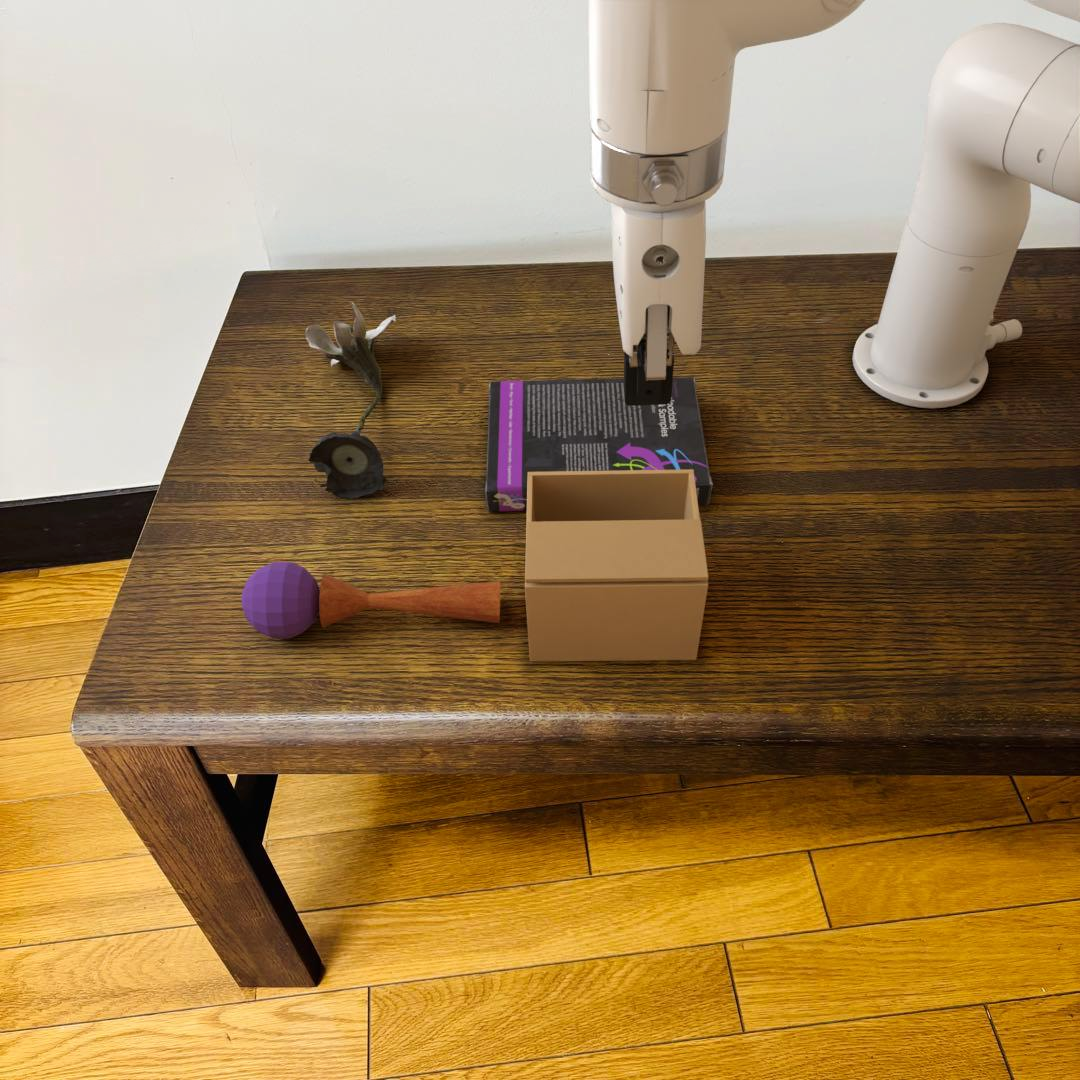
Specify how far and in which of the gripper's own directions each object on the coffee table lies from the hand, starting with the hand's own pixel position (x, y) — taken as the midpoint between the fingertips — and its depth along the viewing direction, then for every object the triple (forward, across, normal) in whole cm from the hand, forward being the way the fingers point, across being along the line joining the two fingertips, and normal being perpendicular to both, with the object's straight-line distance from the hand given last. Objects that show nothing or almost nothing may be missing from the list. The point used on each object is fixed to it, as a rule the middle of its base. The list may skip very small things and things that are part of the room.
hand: (647, 396), depth 70 cm
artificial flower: (+18, +18, +26) cm, 37 cm away
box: (+18, +12, +3) cm, 22 cm away
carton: (+18, -5, +3) cm, 19 cm away
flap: (+8, -7, +3) cm, 11 cm away
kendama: (+18, -6, +21) cm, 28 cm away
